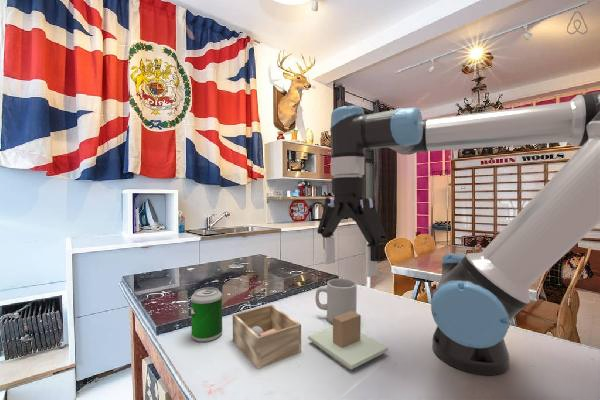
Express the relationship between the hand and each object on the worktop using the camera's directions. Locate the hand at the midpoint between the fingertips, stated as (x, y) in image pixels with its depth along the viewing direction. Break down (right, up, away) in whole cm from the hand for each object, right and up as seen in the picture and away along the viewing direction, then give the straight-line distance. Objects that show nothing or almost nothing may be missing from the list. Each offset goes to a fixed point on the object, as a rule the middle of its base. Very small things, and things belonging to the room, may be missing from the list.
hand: (348, 269), depth 67 cm
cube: (-18, -19, 0) cm, 26 cm away
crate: (-20, -20, +2) cm, 28 cm away
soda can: (-35, -20, +8) cm, 41 cm away
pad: (0, -20, +1) cm, 20 cm away
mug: (-1, -19, +18) cm, 26 cm away
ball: (-22, -19, +4) cm, 29 cm away
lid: (0, -18, +1) cm, 18 cm away
